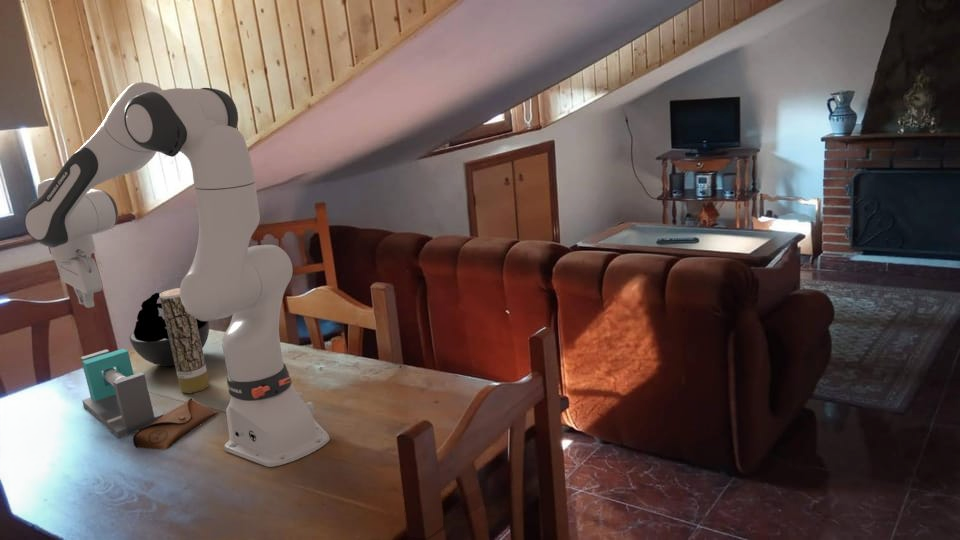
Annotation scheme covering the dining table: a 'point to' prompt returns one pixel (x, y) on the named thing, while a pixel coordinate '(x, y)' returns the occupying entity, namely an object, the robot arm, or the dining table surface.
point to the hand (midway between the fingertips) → (87, 305)
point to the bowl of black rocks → (157, 334)
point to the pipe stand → (123, 402)
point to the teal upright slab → (104, 362)
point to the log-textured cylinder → (184, 343)
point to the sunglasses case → (172, 426)
